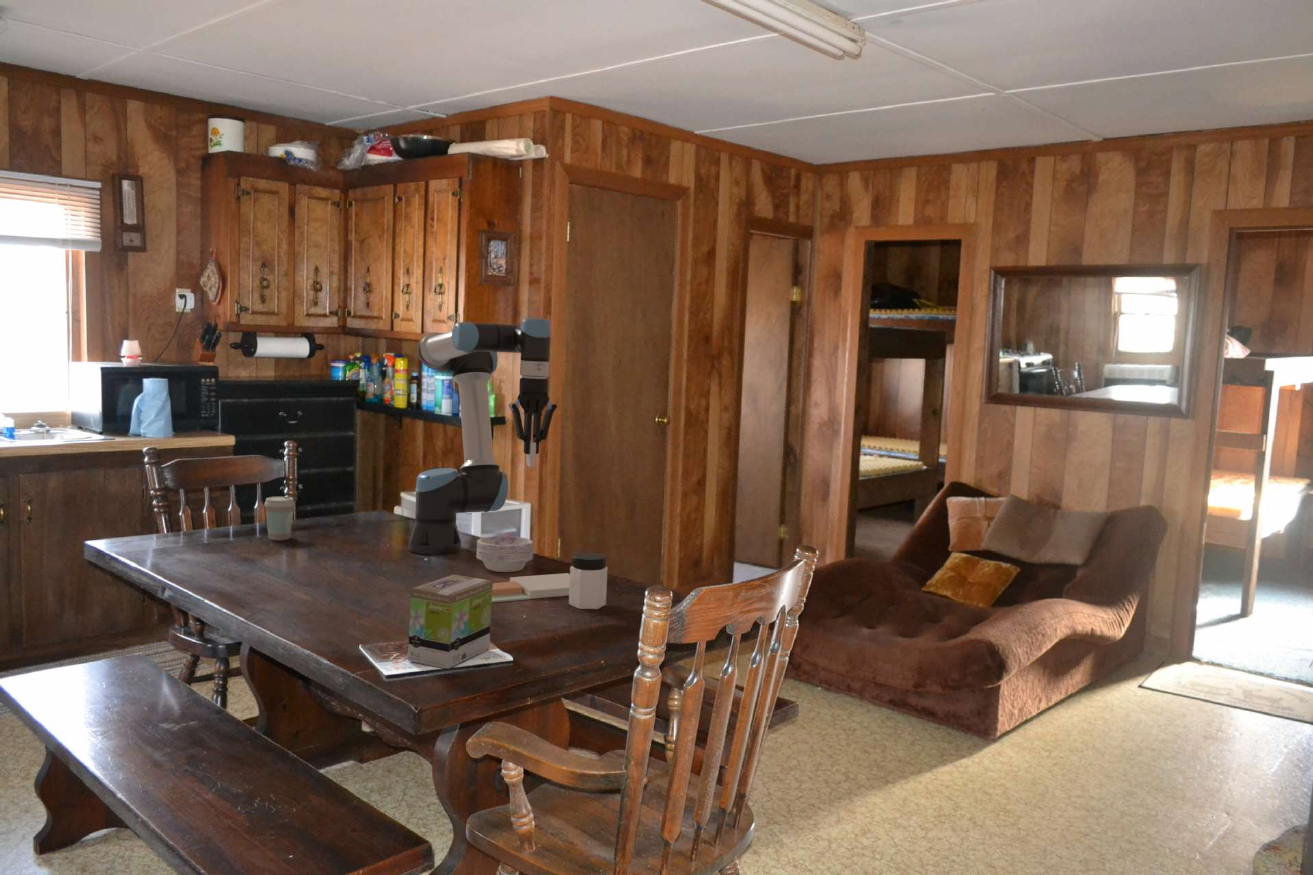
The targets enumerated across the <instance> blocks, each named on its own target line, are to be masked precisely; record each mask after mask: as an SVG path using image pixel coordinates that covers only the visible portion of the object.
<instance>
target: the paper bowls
mask: <svg viewBox="0 0 1313 875" xmlns="http://www.w3.org/2000/svg"><path fill="white" fill-rule="evenodd" d="M533 557H534V541H533V540H531V539H529V538H525V537H521V536H512V535H511V536H508V535H507V536H506V535H497V536H495V535H494V536H486V537H485V536H484V537H481V538H479V539H477V541H476V559H477V560H480V561H482V563H483V565H484V567H485V568H486V569H487V570H488V571H491V572H495V573H496V572H497V573H515V572H519V571H522V570H523V569H524V567H525V565H526V563H527V562H531V561H532V560H533Z"/></svg>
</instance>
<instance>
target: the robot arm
mask: <svg viewBox="0 0 1313 875" xmlns="http://www.w3.org/2000/svg"><path fill="white" fill-rule="evenodd" d="M551 336H552V332H551V321H550V320H549V319H547V318H535V317H534V318H533V317H531V318H530V317H523V319H522V320H521V324H515V323H513V324H512V323H511V324H509V323H507V324H505V323H485V322H484V323H483V322H471V321H464V322H463V321H462V322H461V321H460V322H459V321H458V322H456V323H455V324H454V326H453V327H452V330H449V331H445V332H431V333H429V334H426V335H424V336H422V338H421V339H420V340H419V341H418V344H417V346H416V347H417V348H416V352H417V357H418V359H419V361H421V363H422V364H423V365H424V366H425V367H427V368H428V369H431V370H433V371H436V372H440V373H441V372H443V373H452V380H453V382H455V383H456V384H457V385H458V394H459V395H458V396H459V408H460V410H459V411H460V419H461V433H462V436H461V437H462V444H463V445H462V446H463V460H464V461H463V462H464V463H462V464H461V466H460V467H459V472H458V469H457V468H451V467H448V468H444V467H442V468H441V467H440V468H433V469H428V470H425V471H422V472H420V473H419V474H418V475H417V476H416V483H415V518H414V521H415V522H414V525H413V528H412V531H411V534H410V537H409V539H408V546H407V548H408V551H409V552H411V553H414V554H420V555H427V556H429V555H430V556H431V555H432V556H433V555H434V556H435V555H437V556H440V555H451V554H456V553H458V552H461V551H462V539H461V537H460V533H459V529H458V526H457V514H468V513H481V512H482V513H489V512H496V511H499V510H500V509H502V508H503V507H504V506H505V503H506V500H507V498H508V493H509V479H508V477H507V474H506V473H505V472H503V471H500V464H499V463H497V462H496V461H495V460H494V448H493V436H492V424H491V412H490V400H489V389H488V382H489V381H490V380H491V378H492V377H493V373H494V372H496V370H497V368H498V358H499V357H498V353H511V354H520V358H519V359H520V365H519V375H520V376H521V377H520V378H519V386H518V387H519V390H518V391H519V393H518V395H517V398H516V400H515V401H514V402H509V403H508V407H509V409H510V411H511V412H512V417H513V421H514V422H513V423H514V428H515V433H516V438H517V439H518V440H521V441H523V454H525V455H526V460H525V461H526V463H525V464H526V465H525V466H526V467H529V468H536V456H537V455H539V454H540V453H539V452H540V443H541V442H542V441H543V440H544V441H545V440H547V437H548V433H549V429H550V426H551V422H552V419H553V414H554V412H555V411H556V409H557V408H558V407H557V406H558V405H557V404H556V403H553V402H552V401H550V397H549V394H548V393H549V379H548V377H549V376H550V372H549V371H550V351H551V350H550V349H551ZM520 408H521V409H522V410H523V416H524V417H523V420H522V416H521V411H520ZM544 409H546V410H545V412H544V416H543V410H544ZM542 416H543V420H542ZM522 421H523V422H522ZM541 423H542V424H541Z"/></svg>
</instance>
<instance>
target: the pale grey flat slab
mask: <svg viewBox="0 0 1313 875" xmlns="http://www.w3.org/2000/svg"><path fill="white" fill-rule="evenodd" d="M509 582H516V583H517V584H519V585H520V586H522V587H523V594H525V595H526V596H528V597H529V598H530V599H529V600H533V599H542V598H552V597H553V598H554V597H565V596H568V597H569V585H570V573H568V572H566V573H565V572H564V573H552V574H551V573H550V574H540V575H539V574H538V575H527V576H525V575H524V576H514V577H509Z"/></svg>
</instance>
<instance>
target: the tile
mask: <svg viewBox="0 0 1313 875" xmlns="http://www.w3.org/2000/svg"><path fill="white" fill-rule="evenodd" d="M519 593H523V587H522V586H520V585H519V584H517V583H516V582H510V581H503V582H494V583H493V588H492V596H495V595H507V594H519Z"/></svg>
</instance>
